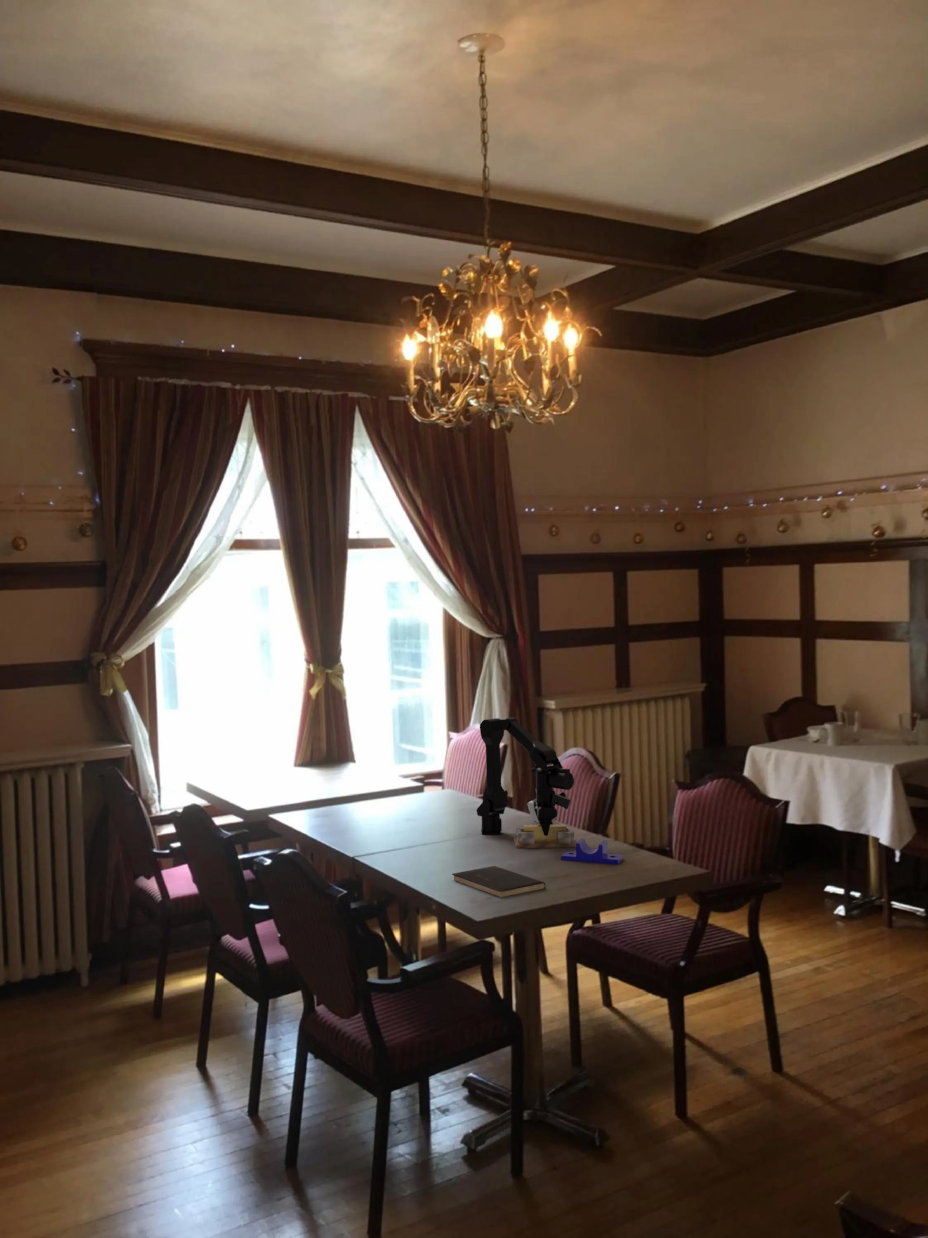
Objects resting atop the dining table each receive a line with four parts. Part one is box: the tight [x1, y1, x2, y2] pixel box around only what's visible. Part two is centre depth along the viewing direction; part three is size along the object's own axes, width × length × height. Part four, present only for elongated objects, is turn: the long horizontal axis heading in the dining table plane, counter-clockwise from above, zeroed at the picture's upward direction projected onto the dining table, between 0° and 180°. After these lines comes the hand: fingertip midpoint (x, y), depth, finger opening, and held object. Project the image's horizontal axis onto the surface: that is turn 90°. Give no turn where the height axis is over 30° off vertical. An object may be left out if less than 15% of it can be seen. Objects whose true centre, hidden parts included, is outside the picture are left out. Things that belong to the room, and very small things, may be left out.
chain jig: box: [513, 826, 577, 849], centre depth 361 cm, size 20×11×4 cm, turn 92°
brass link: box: [522, 823, 568, 842], centre depth 361 cm, size 14×4×5 cm, turn 93°
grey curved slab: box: [527, 800, 560, 825], centre depth 393 cm, size 17×5×10 cm, turn 16°
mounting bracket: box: [560, 837, 624, 865], centre depth 339 cm, size 18×7×6 cm, turn 71°
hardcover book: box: [451, 865, 546, 898], centre depth 310 cm, size 16×23×2 cm
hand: (544, 833), depth 361 cm, fingers open, 7 cm apart
